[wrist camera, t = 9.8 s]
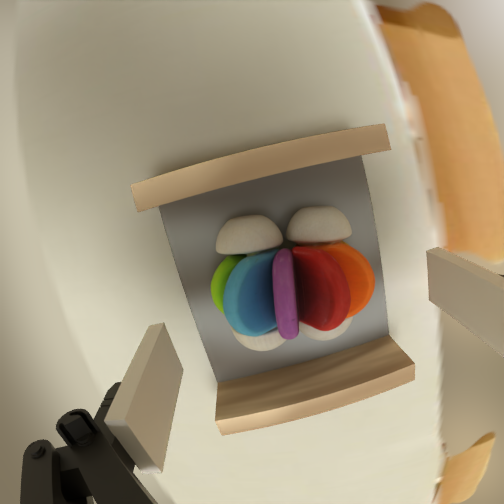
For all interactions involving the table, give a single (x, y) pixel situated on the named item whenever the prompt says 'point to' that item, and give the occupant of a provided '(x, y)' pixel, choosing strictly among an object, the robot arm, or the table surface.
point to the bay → (280, 212)
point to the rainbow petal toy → (290, 278)
